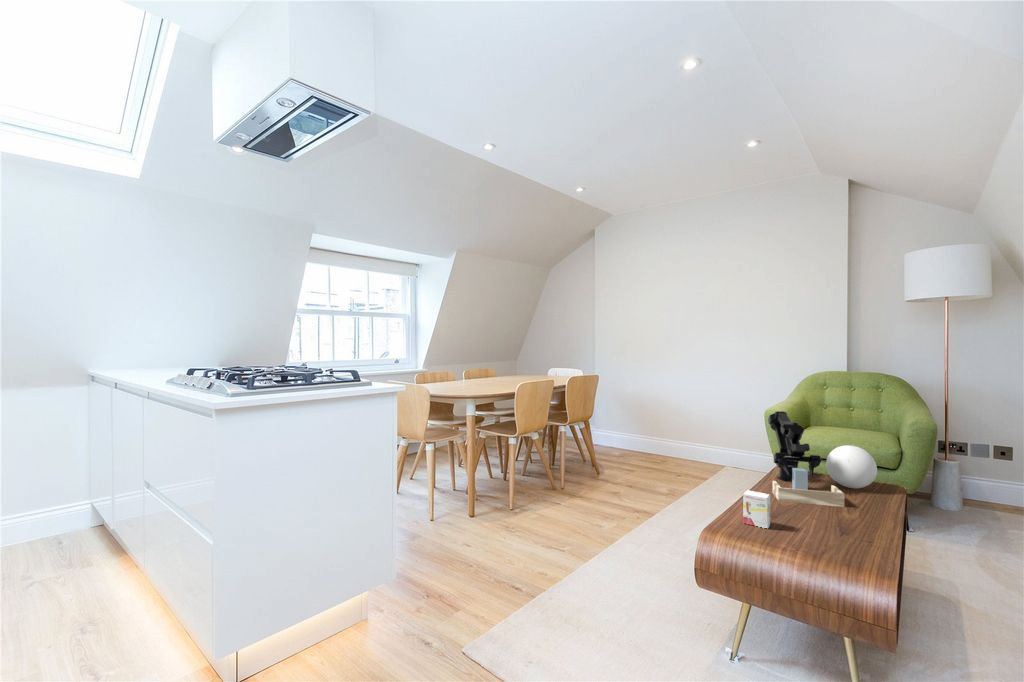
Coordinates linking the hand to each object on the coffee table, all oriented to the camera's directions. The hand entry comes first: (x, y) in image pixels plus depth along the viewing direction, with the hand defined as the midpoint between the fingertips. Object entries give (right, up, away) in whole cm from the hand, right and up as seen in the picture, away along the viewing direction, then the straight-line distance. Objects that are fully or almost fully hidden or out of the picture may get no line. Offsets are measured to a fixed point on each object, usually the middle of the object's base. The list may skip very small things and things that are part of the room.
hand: (800, 475), depth 213 cm
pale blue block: (0, -8, +1) cm, 9 cm away
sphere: (+31, -9, +10) cm, 33 cm away
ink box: (-39, -8, -37) cm, 55 cm away
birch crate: (-3, -8, -9) cm, 13 cm away
